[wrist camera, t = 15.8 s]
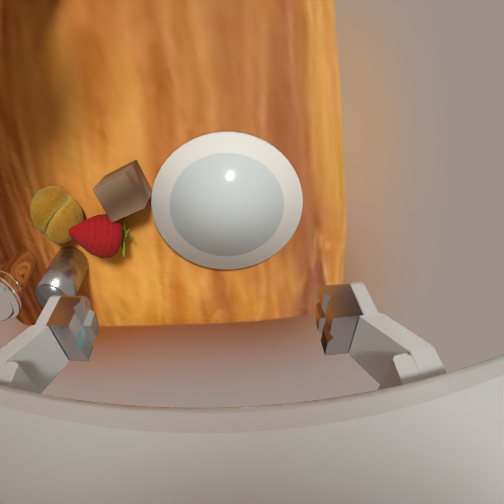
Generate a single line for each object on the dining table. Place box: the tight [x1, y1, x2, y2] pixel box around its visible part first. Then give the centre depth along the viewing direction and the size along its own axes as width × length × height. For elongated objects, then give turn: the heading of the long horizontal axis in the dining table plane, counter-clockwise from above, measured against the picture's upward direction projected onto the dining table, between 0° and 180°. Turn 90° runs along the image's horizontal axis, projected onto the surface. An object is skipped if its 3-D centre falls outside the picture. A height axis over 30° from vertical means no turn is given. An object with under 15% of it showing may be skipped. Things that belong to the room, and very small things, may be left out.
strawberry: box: [68, 214, 137, 258], centre depth 40 cm, size 6×8×10 cm
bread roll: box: [30, 185, 84, 244], centre depth 39 cm, size 8×9×4 cm
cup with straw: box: [0, 248, 36, 321], centre depth 37 cm, size 8×9×20 cm
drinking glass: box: [35, 246, 89, 308], centre depth 42 cm, size 6×6×9 cm
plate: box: [151, 131, 303, 269], centre depth 42 cm, size 20×20×1 cm
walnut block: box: [93, 160, 152, 222], centre depth 38 cm, size 5×5×5 cm
